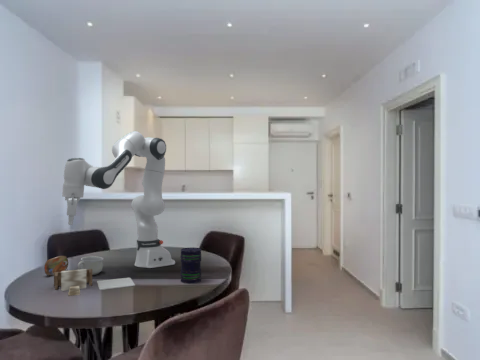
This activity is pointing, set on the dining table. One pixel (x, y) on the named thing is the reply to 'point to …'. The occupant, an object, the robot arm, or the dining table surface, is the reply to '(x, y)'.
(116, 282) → the mat
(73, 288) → the offcut top
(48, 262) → the tin
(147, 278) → the dining table surface
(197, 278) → the storage jar
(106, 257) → the dining table surface
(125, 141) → the robot arm
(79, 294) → the offcut low
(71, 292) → the offcut mid
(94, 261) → the teacup
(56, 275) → the frame
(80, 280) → the cream rectangular block
